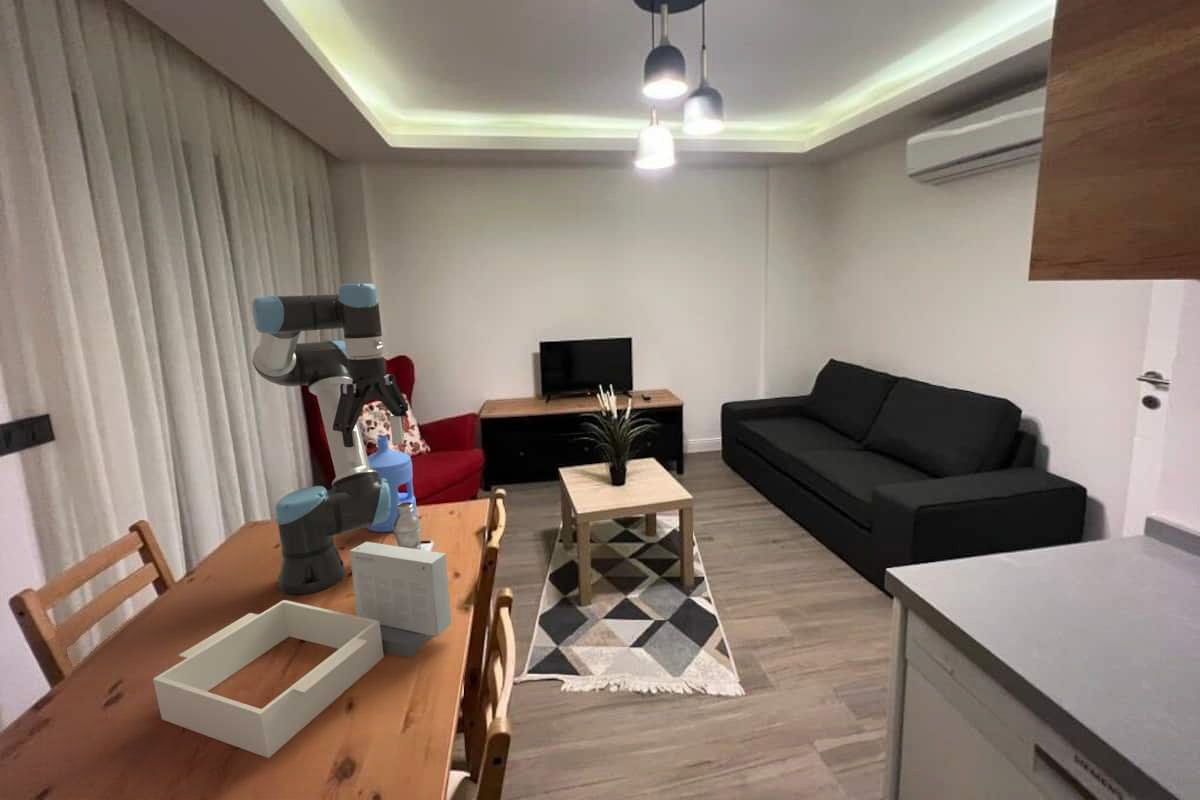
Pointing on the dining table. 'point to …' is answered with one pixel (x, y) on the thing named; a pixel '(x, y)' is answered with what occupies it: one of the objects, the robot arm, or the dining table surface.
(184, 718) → the tray
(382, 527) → the water jug
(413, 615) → the skincare box
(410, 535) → the plastic bottle
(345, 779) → the dining table surface
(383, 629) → the plate
